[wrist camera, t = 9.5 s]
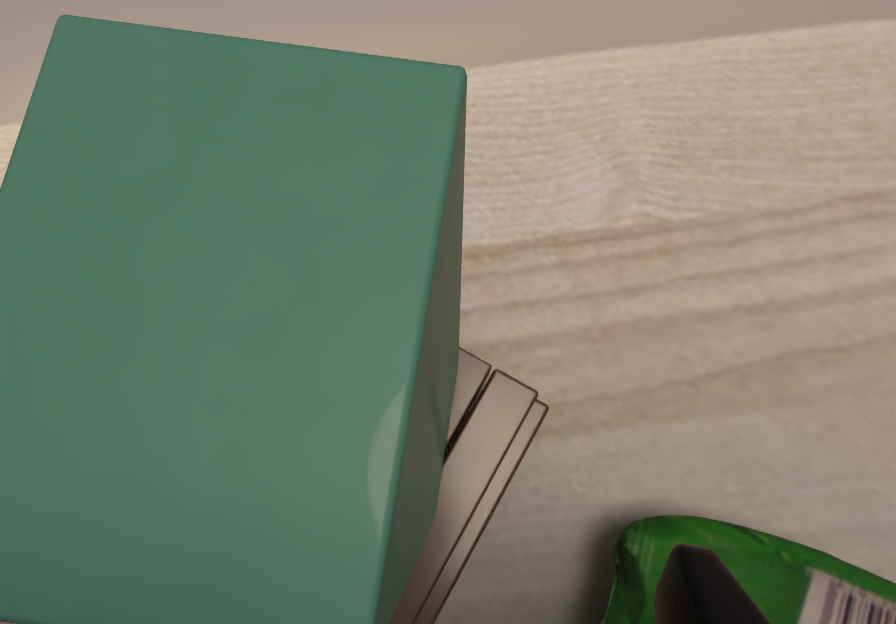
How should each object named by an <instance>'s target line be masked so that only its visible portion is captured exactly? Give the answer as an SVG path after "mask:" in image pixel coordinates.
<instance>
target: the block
mask: <svg viewBox="0 0 896 624" xmlns="http://www.w3.org/2000/svg"><path fill="white" fill-rule="evenodd" d="M466 92H467V75H466V71H465V69H464V68H462V67H459V66H453V65H445V64H438V63H430V62H423V61H415V60H408V59H400V58H392V57H385V56H377V55H369V54H361V53H354V52H346V51H339V50H331V49H323V48H316V47H308V46H300V45H293V44H285V43H278V42H270V41H262V40H255V39H247V38H239V37H232V36H224V35H216V34H209V33H201V32H193V31H185V30H178V29H170V28H163V27H155V26H147V25H139V24H132V23H125V22H117V21H108V20H101V19H93V18H86V17H78V16H71V15H62V16H60V17H59V18H58V19H57V22H56V25H55V28H54V31H53V34H52V37H51V40H50V43H49V46H48V49H47V52H46V55H45V58H44V61H43V64H42V67H41V70H40V73H39V76H38V79H37V82H36V85H35V88H34V90H33V93H32V97H31V99H30V102H29V106H28V108H27V111H26V114H25V117H24V120H23V123H22V126H21V129H20V132H19V135H18V138H17V141H16V144H15V147H14V150H13V153H12V156H11V159H10V162H9V165H8V168H7V171H6V174H5V177H4V180H3V183H2V186H1V189H0V621H5V622H11V623H16V624H389V623H390V621H391V618H392V616H393V614H394V611H395V609H396V607H397V605H398V602H399V600H400V598H401V595H402V593H403V591H404V588H405V586H406V584H407V582H408V579H409V577H410V575H411V572H412V570H413V568H414V566H415V563H416V561H417V559H418V556H419V554H420V552H421V549H422V547H423V545H424V543H425V540H426V538H427V536H428V533H429V531H430V529H431V527H432V524H433V522H434V520H435V514H436V508H437V501H438V495H439V488H440V481H441V475H442V468H443V462H444V455H445V449H446V442H447V436H448V429H449V423H450V416H451V409H452V403H453V396H454V390H455V383H456V377H457V370H458V360H459V326H460V293H461V259H462V226H463V193H464V159H465V126H466Z"/></svg>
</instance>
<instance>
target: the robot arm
mask: <svg viewBox="0 0 896 624" xmlns="http://www.w3.org/2000/svg"><path fill="white" fill-rule="evenodd" d="M654 621H655V624H771V623H770V622H769V620H768V619H767V618H766V617H765V615H764V614H763V613H762V611H761V610H760V609H759V608H758V606H757V605H756V604H755V602H754V601H753V600H752V599H751V597H750V596H749V595H748V594H747V592H746V591H745V590H744V588H743V587H742V586H741V585H740V583H739V582H738V581H737V580H736V578H735V577H734V576H733V574H732V573H731V572H730V571H729V569H728V568H727V567H726V565H725V564H724V563H723V562H722V560H721V559H720V558H719V557H718V555H717V554H716V553H715V552H714V551H712V550H711V549H709V548H707V547H702V546H696V545H690V544H684V543H678V544H676V545H675V546H674V547H673V548H672V550H671V552H670V554H669V557H668V559H667V561H666V564H665V566H664V569H663V571H662V573H661V576H660V578H659V580H658V583H657V586H656V589H655V595H654Z"/></svg>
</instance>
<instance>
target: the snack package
mask: <svg viewBox="0 0 896 624" xmlns="http://www.w3.org/2000/svg"><path fill="white" fill-rule="evenodd" d="M678 543H684V544H690V545H696V546H702V547H707V548H709V549H711V550H712V551H714V552H715V553H716V554H717V555H718V557H719V558H720V559H721V560H722V562H723V563H724V564H725V565H726V567H727V568H728V569H729V571H730V572H731V573H732V574H733V576H734V577H735V578H736V580H737V581H738V582H739V583H740V585H741V586H742V587H743V588H744V590H745V591H746V592H747V594H748V595H749V596H750V597H751V599H752V600H753V601H754V602H755V604H756V605H757V606H758V608H759V609H760V610H761V611H762V613H763V614H764V615H765V617H766V618H767V619H768V620H769V622H770V623H771V624H896V583H893V582H891V581H888V580H886V579H883V578H881V577H879V576H877V575H875V574H872V573H870V572H868V571H866V570H863V569H861V568H859V567H856V566H854V565H852V564H849V563H847V562H844V561H842V560H840V559H838V558H836V557H834V556H832V555H829V554H827V553H825V552H822V551H819V550H816V549H814V548H811V547H808V546H805V545H802V544H799V543H796V542H793V541H790V540H787V539H784V538H781V537H777V536H774V535H770V534H767V533H764V532H760V531H757V530H753V529H750V528H747V527H743V526H739V525H735V524H731V523H726V522H721V521H716V520H711V519H706V518H701V517H695V516H656V517H651V518H647V519H642V520H638V521H635V522H633V523H631V524H630V525H628V526H627V527H626V528H625V529H624V530H623V531H622V532H621V534H620V536H619V538H618V539H617V541H616V545H615V550H614V576H613V585H612V590H611V595H610V599H609V603H608V606H607V609H606V613H605V616H604V619H603V621H602V623H601V624H655V621H654V595H655V589H656V586H657V583H658V580H659V578H660V576H661V573H662V571H663V569H664V566H665V564H666V561H667V559H668V557H669V554H670V552H671V550H672V548H673V547H674V546H675V545H676V544H678Z"/></svg>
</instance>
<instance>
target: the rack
mask: <svg viewBox="0 0 896 624" xmlns="http://www.w3.org/2000/svg"><path fill="white" fill-rule="evenodd" d="M490 370H491V365H490V364H488V363H487V362H485V361H483V360H481V359H480V358H478V357H476V356H474V355H472V354H471V353H469V352H467V351H465V350H464V349H462V348H460V347H459V360H458V370H457V377H456V383H455V390H454V396H453V403H452V409H451V416H450V423H449V429H448V436H447V442H446V449H447V447H448V446H449V444H450V442H451V440H452V439H453V437H454V435H455V433H456V431H457V430H458V428H459V426H460V424H461V423H462V421H463V419H464V417H465V416H466V414H467V412H468V410H469V408H470V407H471V405H472V403H473V401H474V400H475V398H476V396H477V394H478V393H479V391H480V389H481V387H482V385H483V384H484V382H485V380H486V378H487V377H488V375H489V373H490ZM537 396H538V392H537V391H536V390H534V389H532V388H531V387H529V386H527V385H525V384H523V383H522V382H520V381H518V380H516V379H515V378H513V377H511V376H509V375H508V374H506V373H504V372H502V371H500V370H499V369H496V370H494V371H493V373H492V375H491V377H490V379H489V380H488V382H487V384H486V386H485V387H484V389H483V391H482V393H481V395H480V396H479V398H478V400H477V402H476V403H475V405H474V407H473V409H472V411H471V412H470V414H469V416H468V418H467V419H466V421H465V423H464V425H463V426H462V428H461V430H460V432H459V434H458V435H457V437H456V439H455V441H454V442H453V444H452V446H451V448H450V450H449V451H448V453H447V455H446V457H445V458H444V462H443V468H442V475H441V481H440V488H439V495H438V501H437V508H436V514H435V520H434V522H433V524H432V527H431V529H430V531H429V533H428V536H427V538H426V540H425V543H424V545H423V547H422V549H421V552H420V554H419V556H418V559H417V561H416V563H415V566H414V568H413V570H412V572H411V575H410V577H409V579H408V582H407V584H406V586H405V588H404V591H403V593H402V595H401V598H400V600H399V602H398V605H397V607H396V609H395V611H394V614H393V616H392V618H391V621H390V623H389V624H434V622H435V620H436V618H437V616H438V615H439V613H440V611H441V609H442V607H443V605H444V603H445V602H446V600H447V598H448V596H449V594H450V592H451V590H452V589H453V587H454V585H455V583H456V581H457V579H458V577H459V576H460V574H461V572H462V570H463V568H464V566H465V564H466V563H467V561H468V559H469V557H470V555H471V553H472V551H473V550H474V548H475V546H476V544H477V542H478V540H479V538H480V536H481V535H482V533H483V531H484V529H485V527H486V525H487V523H488V522H489V520H490V518H491V516H492V514H493V512H494V510H495V509H496V507H497V505H498V503H499V501H500V499H501V497H502V496H503V494H504V492H505V490H506V488H507V486H508V484H509V483H510V481H511V479H512V477H513V475H514V473H515V471H516V470H517V468H518V466H519V464H520V462H521V460H522V458H523V456H524V455H525V453H526V451H527V449H528V447H529V445H530V443H531V442H532V440H533V438H534V436H535V434H536V432H537V430H538V429H539V427H540V425H541V423H542V421H543V419H544V417H545V416H546V414H547V412H548V410H549V407H548V406H547V405H546V404H544V403H543V402H541V401H539V400H537V399H536V398H537ZM446 449H445V451H446Z"/></svg>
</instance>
